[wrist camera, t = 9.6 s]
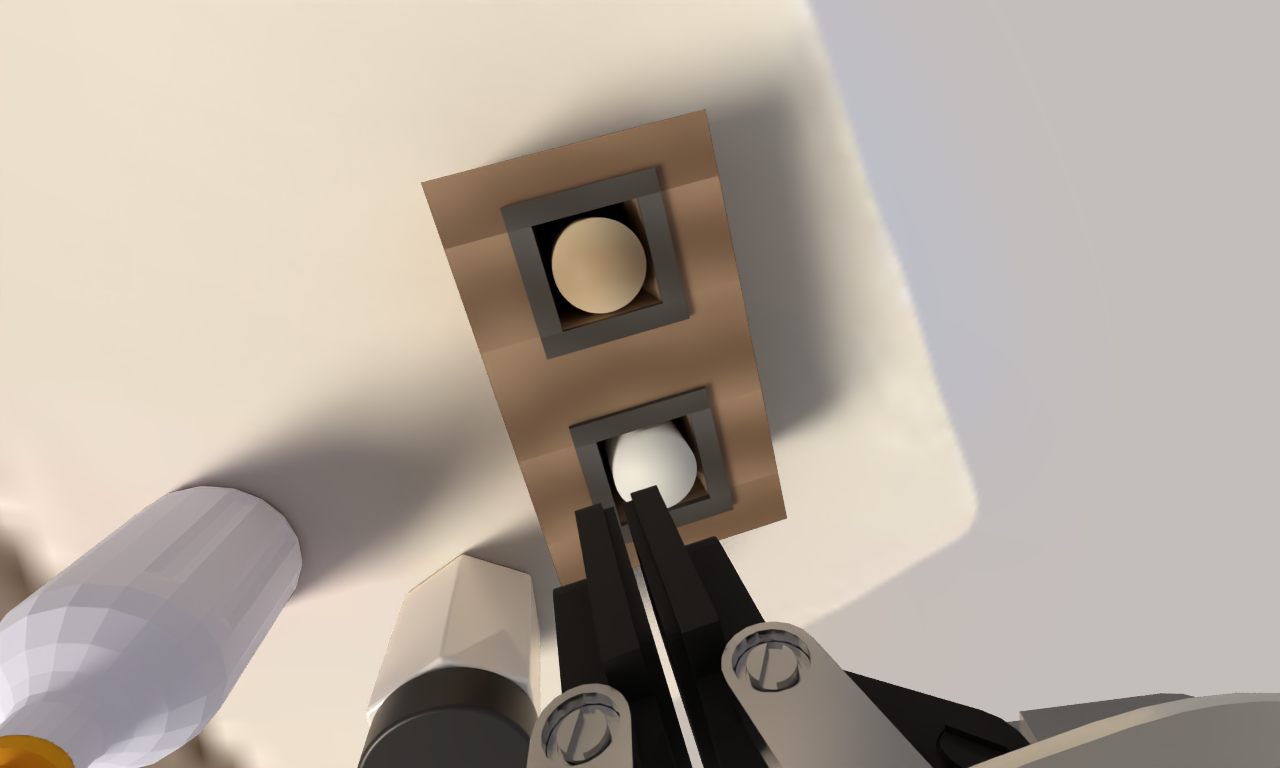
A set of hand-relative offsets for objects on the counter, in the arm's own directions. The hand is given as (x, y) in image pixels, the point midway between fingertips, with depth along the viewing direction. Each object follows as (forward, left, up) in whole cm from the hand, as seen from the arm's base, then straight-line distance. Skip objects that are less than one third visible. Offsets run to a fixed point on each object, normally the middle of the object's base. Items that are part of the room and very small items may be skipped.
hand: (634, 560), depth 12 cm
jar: (+16, -11, -25) cm, 31 cm away
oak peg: (-4, +2, -24) cm, 24 cm away
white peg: (+6, +2, -24) cm, 25 cm away
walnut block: (+1, +2, -24) cm, 24 cm away
